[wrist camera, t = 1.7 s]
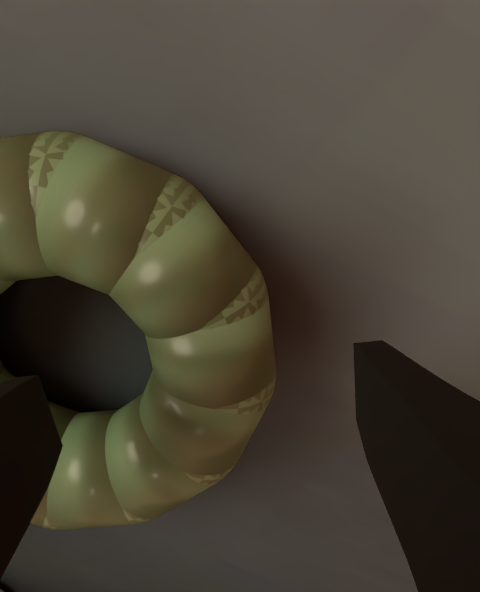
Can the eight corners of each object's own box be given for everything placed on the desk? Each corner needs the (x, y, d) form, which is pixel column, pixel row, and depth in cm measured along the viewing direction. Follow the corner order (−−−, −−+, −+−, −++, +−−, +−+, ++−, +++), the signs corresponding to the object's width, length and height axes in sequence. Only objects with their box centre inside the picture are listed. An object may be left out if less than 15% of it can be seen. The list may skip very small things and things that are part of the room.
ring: (86, 516, 18) (50, 606, 15) (-174, 292, 15) (-300, 344, 11) (341, 359, 15) (367, 428, 12) (90, 34, 12) (27, 0, 8)
